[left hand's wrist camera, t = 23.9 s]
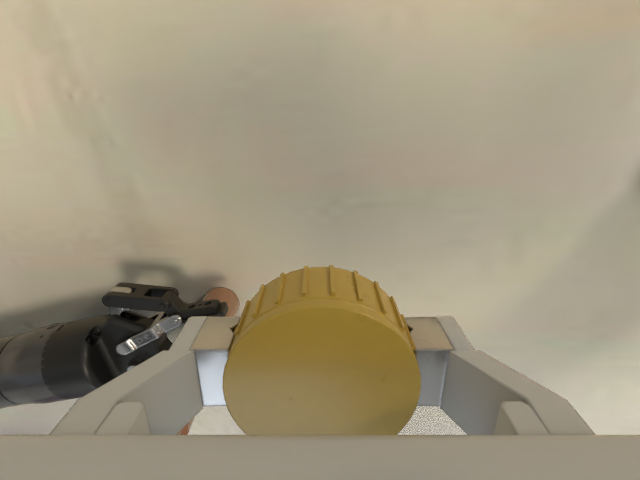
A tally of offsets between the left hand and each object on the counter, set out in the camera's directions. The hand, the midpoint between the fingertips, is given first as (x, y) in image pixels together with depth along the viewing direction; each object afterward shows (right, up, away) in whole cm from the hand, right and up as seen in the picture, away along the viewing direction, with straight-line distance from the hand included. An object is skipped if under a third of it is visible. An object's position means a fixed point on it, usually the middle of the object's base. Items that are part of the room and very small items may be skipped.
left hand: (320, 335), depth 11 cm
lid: (0, -1, -2) cm, 2 cm away
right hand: (-9, -6, +24) cm, 26 cm away
